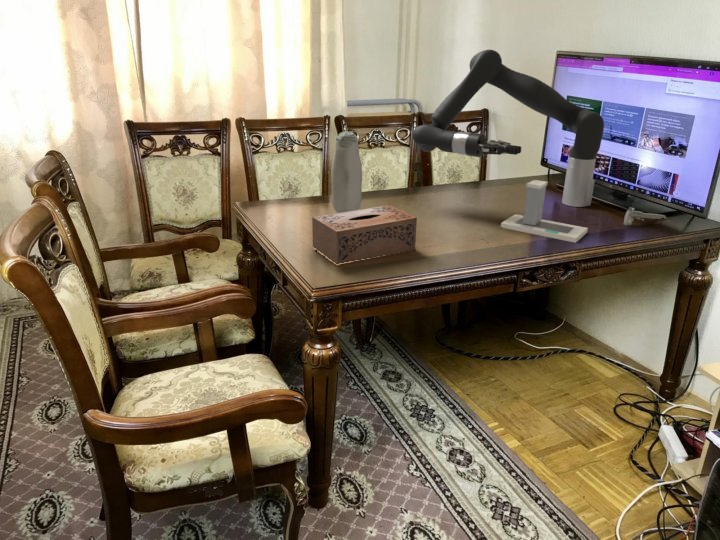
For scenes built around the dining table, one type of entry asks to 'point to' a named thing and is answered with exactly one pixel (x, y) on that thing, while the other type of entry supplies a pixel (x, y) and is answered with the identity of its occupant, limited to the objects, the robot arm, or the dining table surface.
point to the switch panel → (546, 229)
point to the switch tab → (534, 202)
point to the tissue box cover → (364, 233)
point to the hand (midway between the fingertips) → (519, 150)
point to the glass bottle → (346, 173)
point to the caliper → (639, 216)
